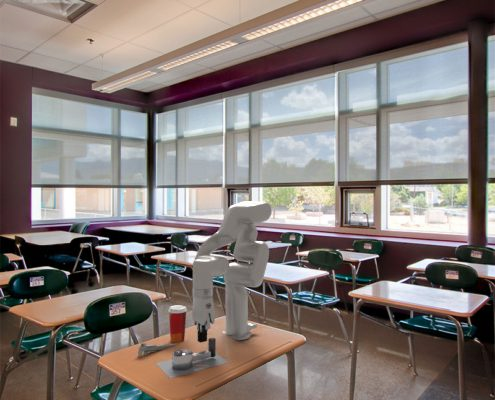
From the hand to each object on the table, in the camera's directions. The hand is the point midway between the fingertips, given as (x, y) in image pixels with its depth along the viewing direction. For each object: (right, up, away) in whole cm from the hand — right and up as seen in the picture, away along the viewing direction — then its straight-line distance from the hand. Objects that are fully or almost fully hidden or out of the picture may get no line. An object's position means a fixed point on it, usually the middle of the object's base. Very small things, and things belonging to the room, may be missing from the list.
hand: (202, 341), depth 140 cm
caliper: (-16, -7, +4) cm, 18 cm away
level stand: (-3, -6, -8) cm, 10 cm away
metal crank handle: (-2, -4, -8) cm, 9 cm away
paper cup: (-12, -6, +16) cm, 21 cm away
